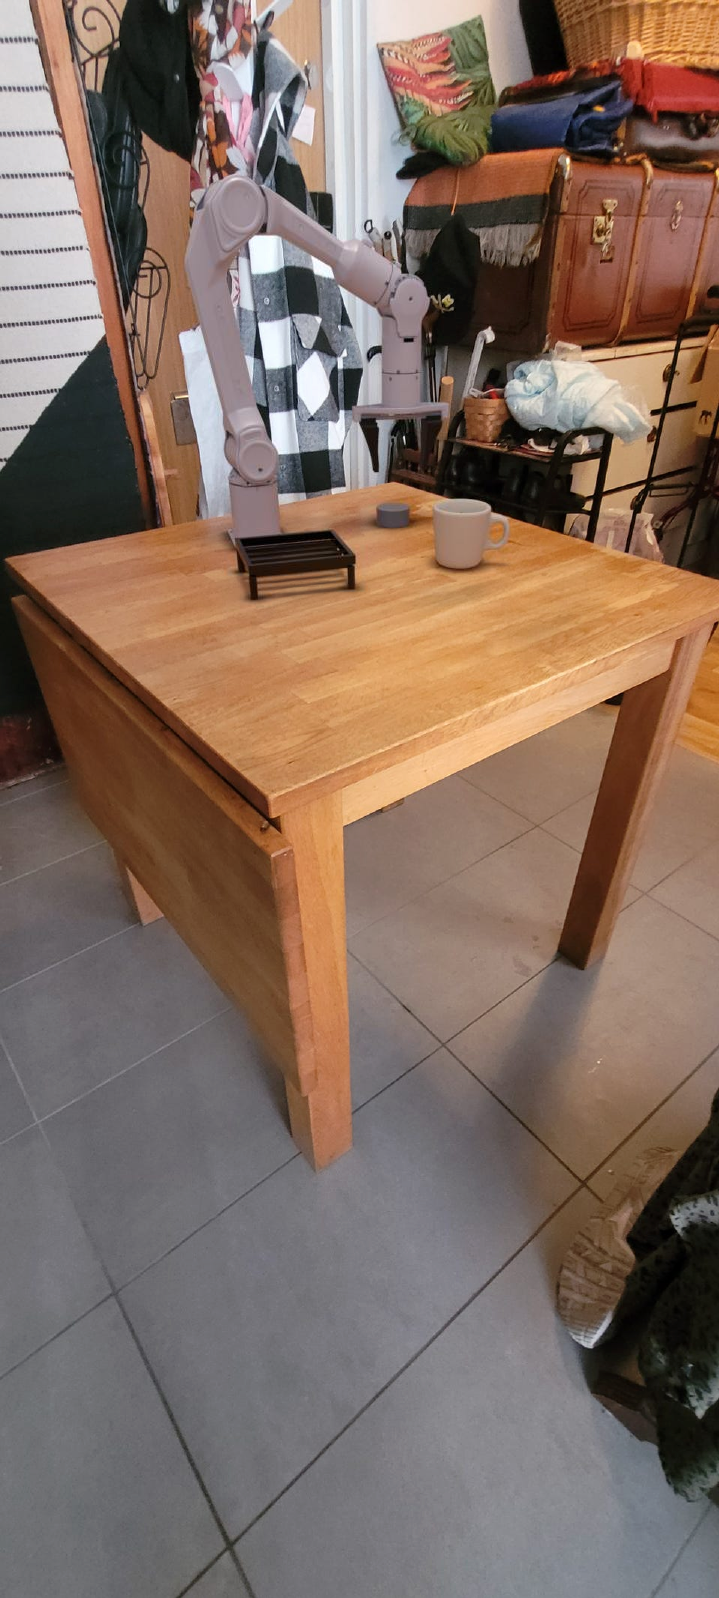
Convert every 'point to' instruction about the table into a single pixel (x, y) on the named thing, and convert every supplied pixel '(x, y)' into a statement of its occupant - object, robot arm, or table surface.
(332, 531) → the rack
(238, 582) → the table surface
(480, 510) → the cup
